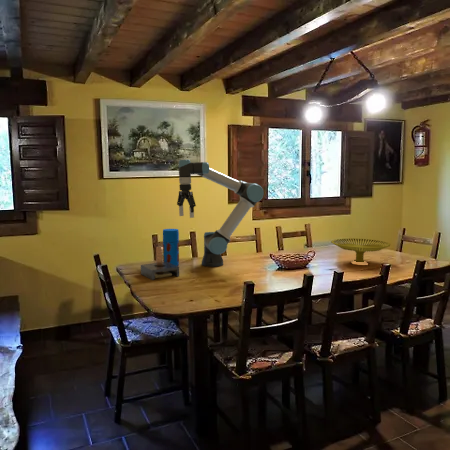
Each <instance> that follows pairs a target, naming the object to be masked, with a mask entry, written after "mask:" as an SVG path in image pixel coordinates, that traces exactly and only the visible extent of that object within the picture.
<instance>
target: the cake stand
mask: <svg viewBox="0 0 450 450" xmlns="http://www.w3.org/2000/svg"><path fill="white" fill-rule="evenodd" d="M330 243H331V244H333V245H334V246H337V247H338V248H339V249H340V248H341V249H343V250H346V251H351V252H352V251H353V252H355V259H354V261H356V262H364V261H365V260H364V255H365V254H364V253H366V252H367V253H368V252H370V253H371V252H378V251H382V250H383V249H386V248H388V247H390V246H391V243H389V242H387V241H383V240H378V239H377V240H376V239H370V238H369V239H368V238H354V237H353V238H351V237H350V238H337V239H333V240H331V241H330Z"/></svg>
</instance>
